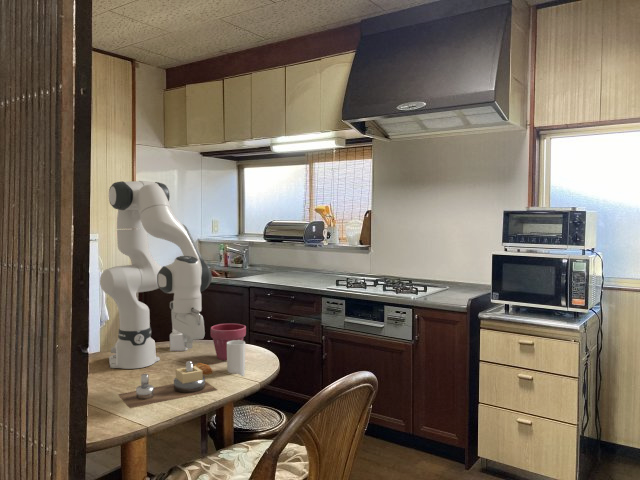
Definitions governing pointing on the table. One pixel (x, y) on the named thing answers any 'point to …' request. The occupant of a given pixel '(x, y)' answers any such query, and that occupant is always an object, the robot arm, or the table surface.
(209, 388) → the base board
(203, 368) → the pastry
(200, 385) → the hub
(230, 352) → the mug
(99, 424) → the table surface
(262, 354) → the table surface
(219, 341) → the plant pot
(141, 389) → the silver knob
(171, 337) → the medicine bottle
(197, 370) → the collar
